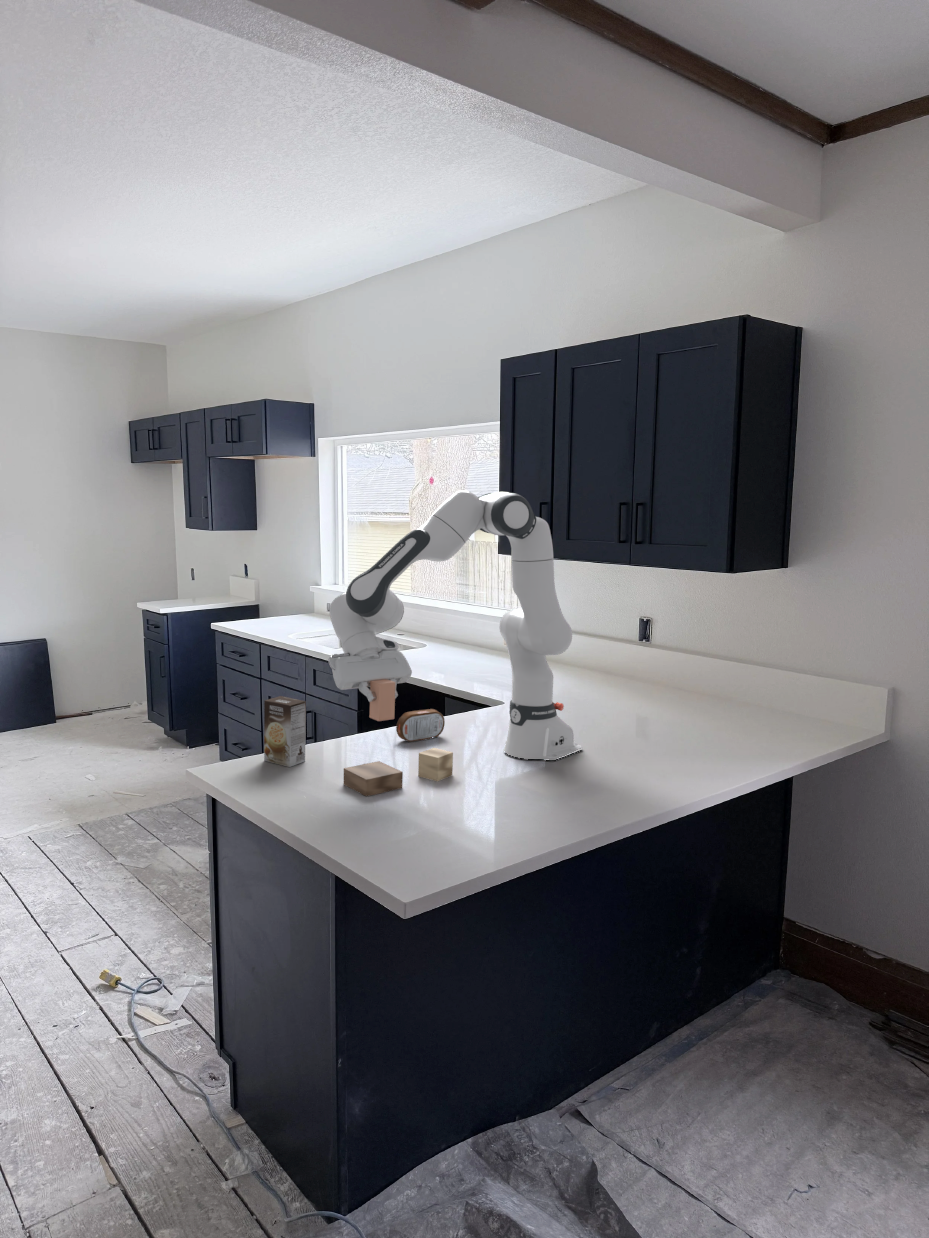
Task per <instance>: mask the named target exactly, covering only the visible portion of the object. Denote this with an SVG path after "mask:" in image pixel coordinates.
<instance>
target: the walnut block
mask: <svg viewBox="0 0 929 1238" xmlns="http://www.w3.org/2000/svg"><path fill="white" fill-rule="evenodd" d="M403 778H404V776H403V771H402V770H399V769H398V768H396V767H393V766H392V765H391V766H390V765H389V764H386V763H384V762H382V761H380V760H377V761H374V762H368V763H363V764H362V763H361V764H359V765H353V766H349V767H348V766H347V767H344V768H343V785H344V786H345V787H348V788H350V789H351V790H353V791H355V792H357V793H359V794H361V795H363V796H365V797H369V796H374V795H379V794H383V793H384V794H385V793H388V792H392V791H396V790H400V789H403V782H404V781H403Z"/></svg>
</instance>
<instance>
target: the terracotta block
mask: <svg viewBox="0 0 929 1238" xmlns="http://www.w3.org/2000/svg"><path fill="white" fill-rule="evenodd" d="M369 689H370V690H371V691H372V692H375V693H376V696H377V699H376V700H375V701H372V702H369V716H368V717H369V718H370V719H372V720H374V721H377V722H382V721H383V722H384V721H389V720H394V719H395V710H396V709H395V706H396V703H395V702H396V698H395V682H394V681H391V680H388V679H384V680H375V681H370V687H369Z"/></svg>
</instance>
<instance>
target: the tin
mask: <svg viewBox="0 0 929 1238" xmlns="http://www.w3.org/2000/svg"><path fill="white" fill-rule="evenodd" d="M445 721H446V719H445V716H444V715H443V714H442V713H441V712H439V711H438V710H437V709H434V708H430V709H429V708H427V709H419V710H412V711H407V712H406V711H405V712H404V713H403V714H402V715H401V716H400V717H399V718H398V720H397V723H396V727H395V729H396V734H397V736H398V737H399V738H400V739H401V740H404V741H405V742H408V743H409V742H410V743H414V742H419V741H424V740H425V739H427V740H431V739H430V738H432V737H436V738H438V737H439V736H441V734H442V733H443V731H444V728H445ZM437 736H438V737H437Z"/></svg>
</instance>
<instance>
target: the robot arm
mask: <svg viewBox="0 0 929 1238" xmlns="http://www.w3.org/2000/svg"><path fill="white" fill-rule="evenodd" d="M532 508H533V507H531V504H530V503H529V501H528V500H527V498H525V497H523V496H522V495H521V494H518V493H514V492H509V491H497V492H488V493H485V494H483V495H481V496H477V495H476V494H474V493H473V492H471V491H468V490H458V491H456V492H454V493H453V494H452V495H450V496H449V497H448V498H447V499H446V500H444V501H443V503H441V504H440V505H439V506H438V507H437V508H436V509H435V510H434V512H433V513H432V514H431V515H430V517H428V518H427V519H426V520H425V522H424V523H423V524H421V525H420V526H419V527H417V528H416V529H413V530H412V531H410V532H408V533H407V534H406V535H404V536H403V537H402V538H401V539H399V541H397V543H395V544H394V545H393V546H392V547H391V548H390V549H389V550H388V551H387V552H386V553H385V554H384V555H382V556H381V558H379V560H378V561H377V562H375V564H373V565H372V566H371V567H370V568H368V569H366V570H365V571H363V572H362V573H360V574H358V575H357V576H356V577H354V578H353V579H352V580H351V582H350V583H349V585H348V586H347V589H346V592H344V593H342V594H339V595H338V596H336V597H335V598H334V599H333V601H332V602H331V603H330V605H329V606H330V607H329V609H328V610H329V617H330V621H331V625H332V627H333V630H334V632H335V635H336V637H337V638H338V639H339V641H340V643H341V644H340V645H341V649H342V651H343V653H334V654H331V656H329V658H328V662H327V663H328V664H329V667H330V668H331V671H332V677H333V680H334V683H335V686H336V687H337V688H338V689H339V690H340V691H343V690H352V689H358V690H359V692H360V693H361V694H362V695H364V696H365V697H366V699H367V700H368V702H369V703H370V702H372V701H375V700H376V699H377V696H376V693H375V692H372V691H371V690H370V681H375V680H384V679H388V680H391V681H394V682H395V699H397V697H398V696H399V694H398V691H397V684H403V683H407V682H408V681H409V679H410V678H411V676H412V673H413V670H412V667H411V665H410V664H409V662H408V660H407V658H406V656H405V655H404V654H403V652H401V651H400V650H399V649H400V645H399V644H398V642H396V641H394V640H390V639H386V638H385V639H384V638H383V637H379V636H376V635H378V634H379V635H380V634H382V633H384V632H387V631H389V630H391V629H393V628H395V627H396V626H398V625H399V623H400V622H401V621H402V619H403V617H404V613H405V608H404V604H403V602H402V600H401V599H400V598H399V597H398V596H397V595H396V594H395V593H394V591H392V590H391V589H390V588H391V586H392V584H393V583H395V582H396V580H397V579H398V578H399V577H401V575H402V574H403V573H404V572H405V571H406V570H407V569H408V568H409V567H410V566H412V564H414V563H416V562H418V561H422V560H423V561H424V560H425V561H426V560H427V561H431V562H439V563H440V562H445V561H448V560H450V559H451V558H452V557H454V556H455V555H456V554H458V552H459V551H460V550H461V549H462V548H463V546H464V545H465V544H466V543H467V541H468V540H469V539H470V537H471V536H472V535H473V534H474V533H475V532H476V531H482V532H484V533H488V534H490V535H494V536H506V537H507V539H508V541H509V543H510V548H511V550H510V551H511V581H512V582H511V583H512V584H511V585H512V590H513V592H514V594H515V595H516V597H517V599H518V601H519V604H520V606H521V607H517V608H513V609H509V610H507V611H506V612H505V613H503V615H502V617H501V619H500V622H499V632H500V635H501V637H502V638H503V641H504V642H505V644H506V648H507V652H508V657H509V661H510V662H509V663H510V667H511V699H510V701H509V712H508V713H509V723H508V724H509V725H508V730H507V736H506V740H505V743H504V749H503V752H504V751H505V752H506V753H507V754H509V755H511V756H510V757H512V756H514V757H513V758H515V757H518V758H517V759H520V758H524V759H523V760H528V759H549V760H555V759H557V758H559V757H562V756H565V755H567V754H569V753H572V752H574V751H576V750H578V749H581V748H582V749H583V747H582V745H581V744H579V743H578V742H576V741H575V737H574V735H575V734H574V730H573V728H572V727H571V726H570V724H568V723H567V722H566V721H564V720H563V719H562V718H561V717H560V716H559V715H558V713H557V710H558V711H563V710H564V707H565V706H564V703H560V702H557V701H556V702H554V696H553V695H554V673H553V670H552V669H551V666H549V663H548V660H547V656H559V655H561V654H563V653H565V652H566V651H567V650H568V649H569V647H570V646H571V643H572V639H573V630H572V628H571V625H570V624H569V623H568V621H567V620H566V618H565V616H564V614H563V611H562V609H561V607H560V603H559V600H558V595H557V592H556V586H555V571H554V570H555V564H554V563H555V561H554V548H553V547H554V546H553V539H552V534H551V529H550V525H549V523H548V522H547V521H546V520H545V519H544V518H541V517H539V516H536V514H535V513H534V511H533V509H532ZM505 744H506V745H505ZM507 754H506V755H507ZM509 755H508V756H509Z"/></svg>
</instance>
